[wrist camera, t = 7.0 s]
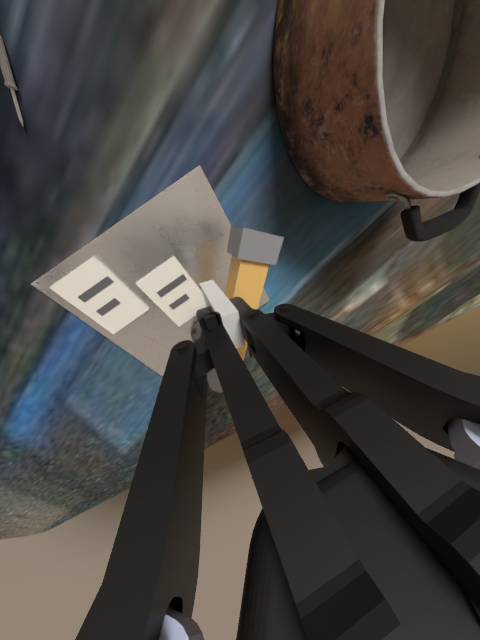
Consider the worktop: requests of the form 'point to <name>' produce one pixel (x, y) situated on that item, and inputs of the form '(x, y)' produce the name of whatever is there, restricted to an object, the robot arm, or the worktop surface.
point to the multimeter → (9, 77)
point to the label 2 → (173, 291)
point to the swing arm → (247, 273)
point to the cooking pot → (383, 101)
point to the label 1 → (100, 295)
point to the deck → (158, 262)
